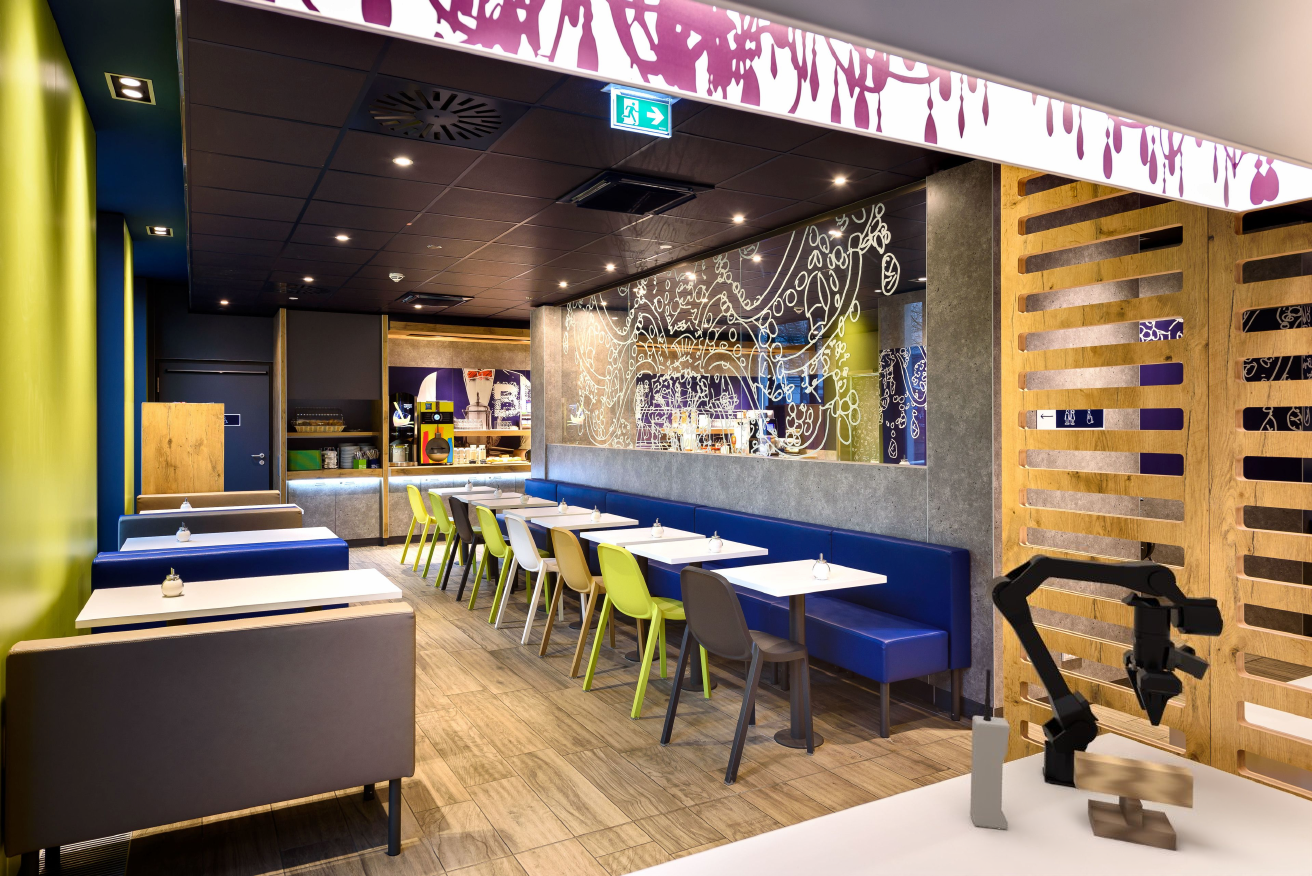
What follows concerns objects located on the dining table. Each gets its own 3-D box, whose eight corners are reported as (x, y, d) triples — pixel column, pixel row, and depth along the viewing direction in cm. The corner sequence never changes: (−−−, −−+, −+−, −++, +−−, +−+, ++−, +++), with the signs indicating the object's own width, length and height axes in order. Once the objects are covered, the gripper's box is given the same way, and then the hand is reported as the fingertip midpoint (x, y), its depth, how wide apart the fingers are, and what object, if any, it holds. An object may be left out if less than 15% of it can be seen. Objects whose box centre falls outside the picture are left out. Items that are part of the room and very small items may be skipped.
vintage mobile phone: (1007, 830, 126) (1011, 673, 126) (974, 826, 127) (978, 671, 127) (1002, 819, 130) (1005, 667, 130) (970, 816, 131) (973, 665, 131)
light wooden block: (1076, 788, 128) (1076, 758, 128) (1073, 780, 131) (1074, 750, 132) (1192, 808, 122) (1193, 776, 122) (1187, 799, 125) (1187, 767, 125)
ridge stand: (1094, 835, 125) (1095, 797, 125) (1087, 814, 133) (1088, 778, 133) (1175, 850, 121) (1176, 811, 121) (1164, 827, 128) (1165, 790, 128)
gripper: (1219, 648, 132) (1217, 742, 131) (1191, 626, 149) (1189, 709, 149) (1141, 640, 136) (1139, 731, 136) (1123, 619, 153) (1121, 700, 153)
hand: (1149, 717), depth 143 cm, fingers open, 9 cm apart
